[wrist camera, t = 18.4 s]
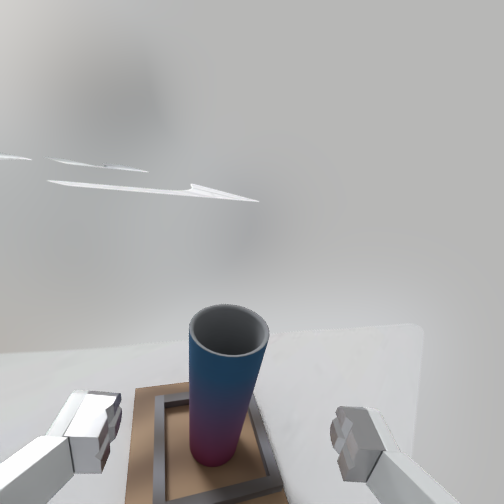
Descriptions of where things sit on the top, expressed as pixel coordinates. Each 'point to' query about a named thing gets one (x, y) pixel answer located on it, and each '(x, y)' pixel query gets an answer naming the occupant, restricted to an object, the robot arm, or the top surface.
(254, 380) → the cup
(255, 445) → the board
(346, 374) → the top surface
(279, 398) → the top surface
